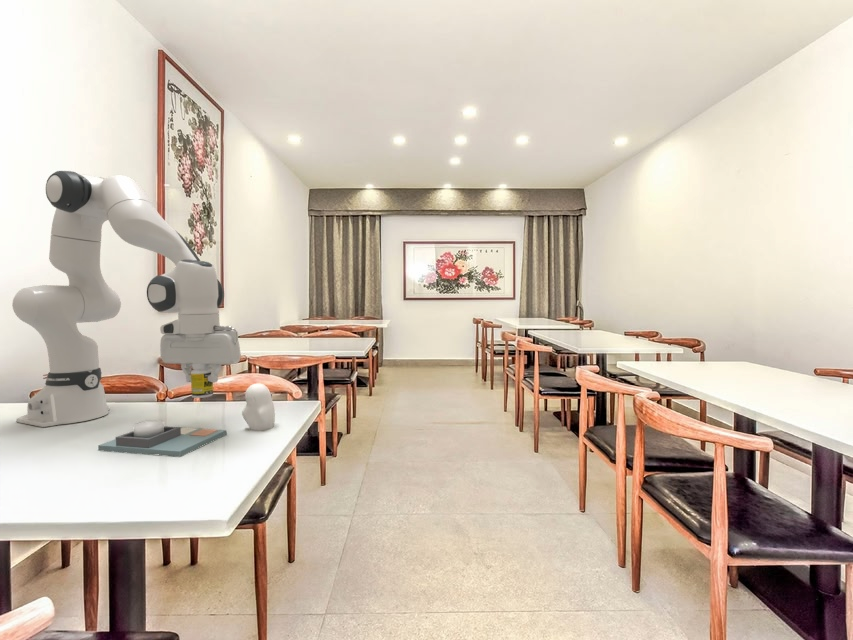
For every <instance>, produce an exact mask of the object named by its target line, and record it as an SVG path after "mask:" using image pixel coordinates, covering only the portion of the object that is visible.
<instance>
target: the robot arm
mask: <svg viewBox="0 0 853 640" xmlns="http://www.w3.org/2000/svg"><path fill="white" fill-rule="evenodd" d="M45 194H46V195H45V196H46V198H47V200H48V201H49V203H50V204H51V205H52V207H54V208H55V211H54V216H53V218H52V222H51V228H50V229H51V230H50V231H51V232H50V242H49V255H48V259H49V260H48V261H49V262H50V264H51V265H52V266H53V267H54V268H55V269H57V270H58V271H60V272H63V274H66V276H67V278H68V285H57V284H56V285H47V284H46V285H45V284H42V285H35V286H34V285H33V286H29V287H23V288H21V289H20V290H18V291H17V292H16V293H15V295H14V297H13V298H12V299H13V300H12V310H13V312H14V314H15V316H16V317H17V318H18V319H19V320H20V321H22V322H23V323H25V324H27V325H29V326H31V327H32V328H34V330H36V331H37V332H38V333H39V335H40V336H41V338H42V339H43V341H44V343H45V346H46V350H47V355H48V363H49V372H48V373H46V374H43V375H42V376H43V378H42V379H43V380H45V383H44V384H45V386H44V387H43V388H41V389H40V390H39V391H37V392H36V393H35V394H34V395H33V396H32V397H30V398H29V399H28V401H27V412H26V413H27V414H25V415H22V416H19V417H17V418H16V419H15V420H16V423H20V424H26V425H31V426H36V427H41V428H47V427H53V426H56V425H57V426H58V425H67V424H75V423H80V422H85V421H90V420H94V419H98V418H101V417H103V416H104V417H105V416H106V415H108V414H109V411H110V406H109V405H108V403H107V398H106V393H105V389H104V388H105V387H104V385H103V383H101V380H102V374H103V373H102V368H101V367H100V365H99V364H100V363H99V345H98V344H97V342H96V341H95V340H94V339H93V338H91V337H89V336H86V335H84V334H82V333H81V331H79V330H80V329H78V326H77V323H79V324H81V323H82V324H83V323H95V322H96V323H97V322H102V321H107V320H109V319H113V318H115V317H116V316H118V314H119V312H120V310H121V307H122V306H121V305H122V303H121V298H120V296H119V295H118V293H117V292H116V291H115V290H113V289H112V288H111V287H109V285H108V284H107V282H106V280H105V279H104V277H103V273H102V270H101V246H102V245H101V244H102V227H103V225H104V223H106V222H107V221H108V222H109V224H110V226H111V228H112V229H113V231H114V232H115V234H116V235H118V237H119V238H120V239H121V240H123V242H125V243H127V244H128V245H132V246H134V247H138V248H142V249H144V250H147V251H150V252H154V253H157V254H159V255H161V256H163V257H165V258H167V259H168V260H170V261H171V262H173V265H174V266H175V267H174V268H173V269H171V270H169V271H168V272H165V273H163V274H160V275H159V274H158V275H156V276H154V277H153V278H152V279H151V280H150V281H149V282H148V284H147V286H146V298H147V299H146V300H147V301H148V303H149V305H150V306H151V307H152V308H153V309H154V310H155V311H156V312H160V313H168V314H171V313H172V314H173V313H177V314H178V315H177V316H178V317H177V319H175V320H172V321H170V322H168V323H165V324H161V326H160V328H159V329H160V334H162V337H160V343H159V344H160V359H161V361H162V362H163V363H164V364H180V368H181V370H182V372H183V373H184V374H185V381H186V382H187V383H191V372H192V371H193V369H192V364H211V368H210V369H211V370H212V372H211V375H208V376H207V378H208V382H210V383H213V384H214V383H217V382H218V380H219V378H218V375H219V374H220V371H221V370H222V365H224V366H225V365H227V366H229V365H230V366H231V365H235V364H238V363H239V362H240V361H241V358H242V355H241V354H242V353H241V347H240V342H239V333H238V331H237V330H236V328H234V327H233V326H231V325H226V326H225V325H220V311H219V308H220V307H221V305H222V304H223V301H224V299H225V290H224V287H223V285H222V283H221V281H220V280H219V279H218V276H217V271H216V269H215V266H214V265H213V264H212V263H211V262H208V261H205V260H204V261H203V260H200V258H199V256H198V255H197V253H195V251H194V250H193V248H192V247H191V245H190V244H189V243H188V242H187V241H186V239H185V238H184V237H183V236H182V235H181V234H180V233H179V232H178V231H177V230H175V229H174V228H173V227H172V226H171V225H170V224H169V223H167V221H166V220H165V219H164V218H163V217H162V215H161V214H160V213H159V212H158V211H157V209H156V207H155V206H154V203H153V202H152V200H151V199H150V197H149V195H148V194H147V193H146V191H145V190H144V189H143V188H142V186H141V185H140V184H139V183H138V182H137V181H136V180H134V179H133V178H132V177H129V176H126V175H123V174H122V175H121V174H114V175H109V176H108V177H101V176H100V177H99V176H96V175H90V174H84V173H78V172H76V171H71V170H57V171H55V172H53V173H52V174H51V175H49V176H48V178H47V180H46V183H45Z"/></svg>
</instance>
